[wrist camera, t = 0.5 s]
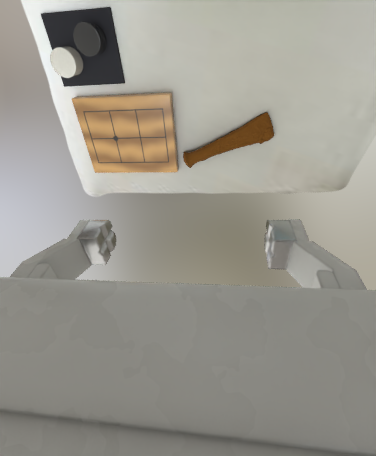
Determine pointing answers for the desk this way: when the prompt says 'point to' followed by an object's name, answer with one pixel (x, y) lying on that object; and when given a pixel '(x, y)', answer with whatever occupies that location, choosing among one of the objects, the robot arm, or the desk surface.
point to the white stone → (66, 61)
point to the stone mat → (92, 65)
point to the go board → (129, 132)
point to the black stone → (89, 38)
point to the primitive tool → (234, 140)
